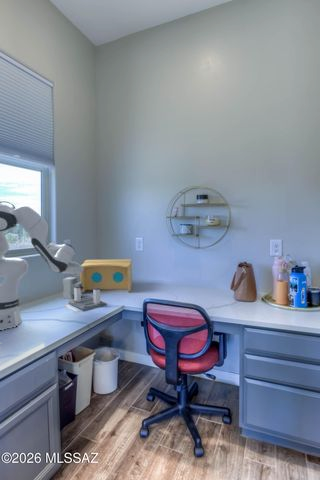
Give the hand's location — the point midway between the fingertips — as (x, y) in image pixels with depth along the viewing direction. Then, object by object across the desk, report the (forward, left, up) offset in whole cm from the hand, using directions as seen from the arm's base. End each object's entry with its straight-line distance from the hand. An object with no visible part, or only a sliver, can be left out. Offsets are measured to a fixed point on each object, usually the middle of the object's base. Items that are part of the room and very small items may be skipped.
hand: (78, 275), depth 182 cm
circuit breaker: (+15, +27, -23) cm, 39 cm away
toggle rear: (+7, +12, -21) cm, 25 cm away
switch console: (+8, +5, -23) cm, 25 cm away
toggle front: (+12, -3, -21) cm, 25 cm away
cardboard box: (+47, +24, -23) cm, 57 cm away
